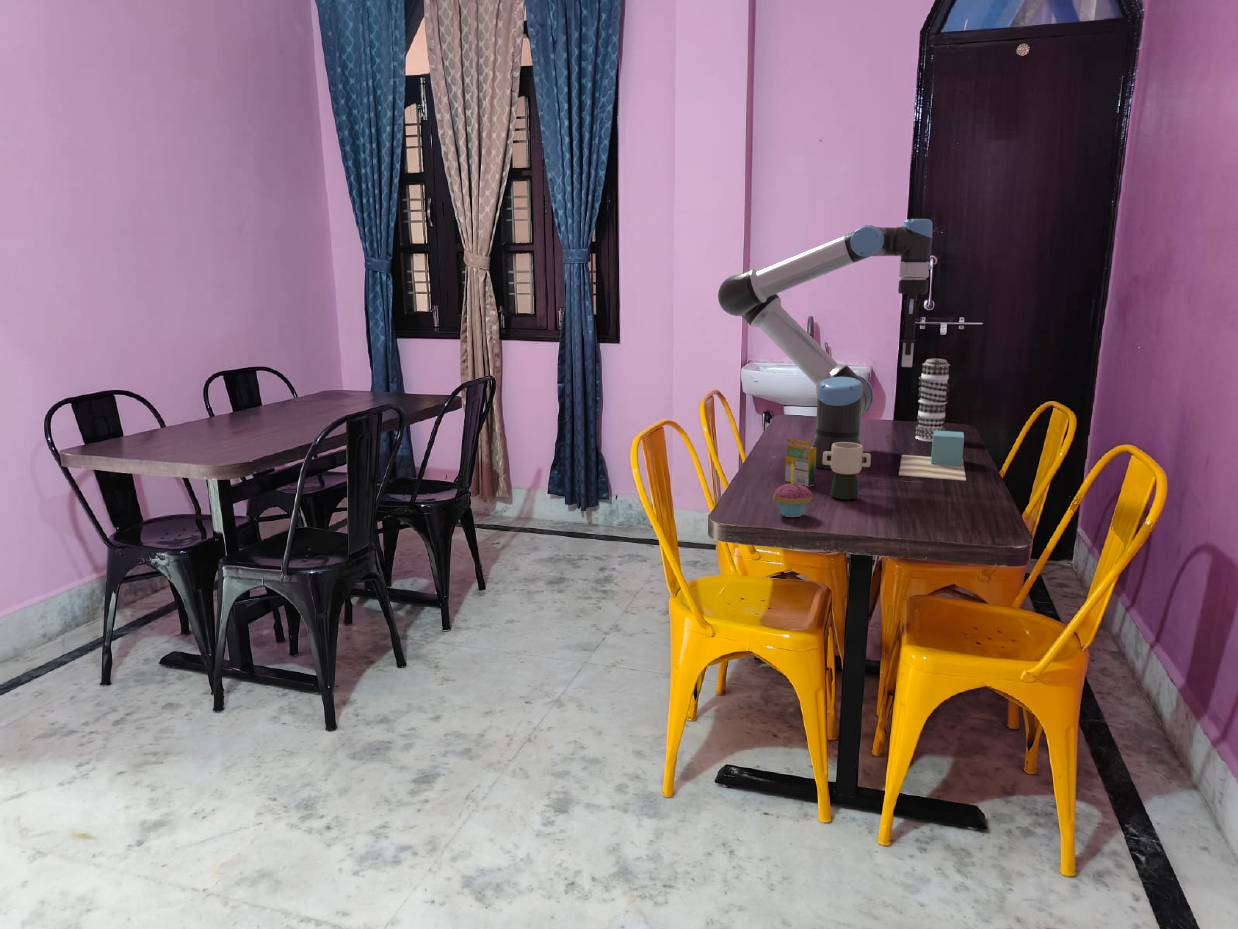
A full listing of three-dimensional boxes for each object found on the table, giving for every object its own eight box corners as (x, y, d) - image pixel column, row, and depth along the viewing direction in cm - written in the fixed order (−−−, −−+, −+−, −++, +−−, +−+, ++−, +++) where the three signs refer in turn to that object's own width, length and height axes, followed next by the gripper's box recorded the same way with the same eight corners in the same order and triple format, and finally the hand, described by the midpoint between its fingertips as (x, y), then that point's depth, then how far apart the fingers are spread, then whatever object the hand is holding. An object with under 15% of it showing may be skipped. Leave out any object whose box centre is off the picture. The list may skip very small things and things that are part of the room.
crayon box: (815, 485, 212) (817, 440, 209) (807, 487, 210) (810, 442, 207) (791, 479, 217) (793, 435, 215) (784, 481, 215) (786, 437, 213)
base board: (965, 486, 211) (965, 480, 211) (898, 480, 216) (898, 475, 216) (962, 464, 233) (962, 459, 232) (901, 460, 238) (901, 454, 238)
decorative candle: (913, 435, 271) (920, 357, 265) (944, 437, 268) (952, 358, 262) (913, 440, 263) (920, 360, 257) (945, 442, 260) (952, 361, 254)
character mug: (866, 495, 203) (870, 442, 200) (868, 503, 196) (872, 449, 193) (820, 493, 205) (823, 440, 202) (820, 501, 199) (823, 447, 195)
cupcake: (768, 510, 192) (770, 458, 189) (805, 509, 192) (808, 458, 189) (778, 521, 183) (780, 468, 180) (816, 520, 184) (819, 467, 181)
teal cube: (961, 466, 225) (964, 437, 223) (931, 464, 227) (933, 435, 225) (960, 460, 232) (963, 432, 230) (931, 457, 234) (933, 430, 232)
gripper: (928, 279, 219) (920, 370, 225) (928, 278, 231) (921, 364, 237) (898, 279, 222) (891, 368, 228) (900, 278, 234) (893, 363, 239)
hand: (906, 366), depth 232 cm, fingers closed
